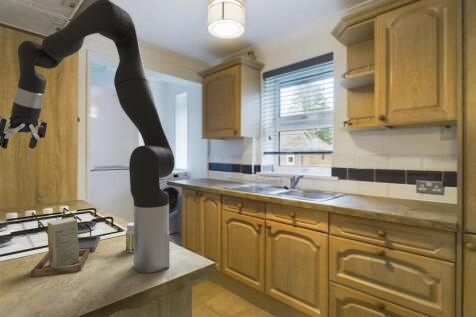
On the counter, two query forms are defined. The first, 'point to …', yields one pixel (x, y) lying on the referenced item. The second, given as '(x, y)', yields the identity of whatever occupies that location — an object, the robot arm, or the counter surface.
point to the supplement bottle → (130, 237)
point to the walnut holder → (42, 271)
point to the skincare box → (63, 242)
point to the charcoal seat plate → (88, 242)
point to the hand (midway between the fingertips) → (18, 147)
